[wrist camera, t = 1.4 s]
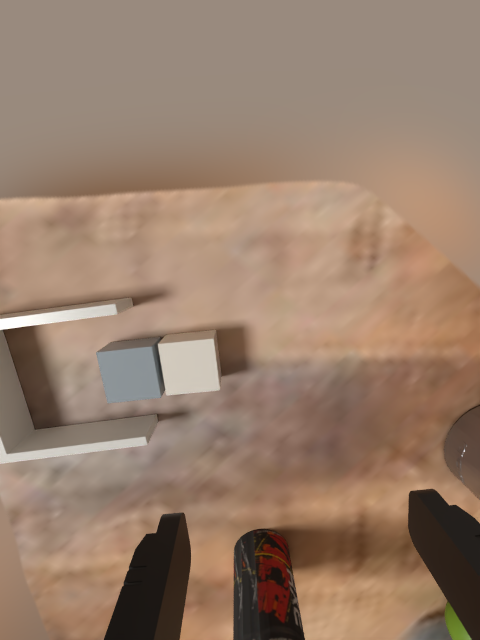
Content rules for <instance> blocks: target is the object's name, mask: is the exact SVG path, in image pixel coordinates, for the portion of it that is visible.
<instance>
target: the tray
mask: <svg viewBox="0 0 480 640" xmlns="http://www.w3.org/2000/svg"><path fill="white" fill-rule="evenodd" d="M131 307H133V302H132V298H131V297H130V298H123V299H115V300H108V301H100V302H93V303H85V304H78V305H70V306H63V307H55V308H48V309H40V310H33V311H25V312H18V313H10V314H3V315H0V464H2V463H10V462H18V461H25V460H33V459H41V458H49V457H57V456H65V455H73V454H81V453H88V452H96V451H104V450H112V449H120V448H128V447H136V446H144V445H148V443H149V440H150V438H151V436H152V434H153V432H154V430H155V428H156V425H157V423H158V418H157V414H154V415H146V416H138V417H130V418H123V419H115V420H107V421H99V422H91V423H84V424H76V425H68V426H60V427H52V428H45V429H37V430H35V428H34V425H33V422H32V419H31V416H30V413H29V410H28V407H27V403H26V400H25V397H24V394H23V391H22V388H21V385H20V382H19V379H18V376H17V372H16V369H15V366H14V363H13V360H12V357H11V354H10V351H9V348H8V345H7V341H6V338H5V335H4V332H3V329H10V328H18V327H25V326H33V325H40V324H48V323H55V322H63V321H70V320H78V319H85V318H93V317H100V316H108V315H116V314H119V313H121V312H123V311H125V310H127V309H129V308H131Z"/></svg>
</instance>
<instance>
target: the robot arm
mask: <svg viewBox="0 0 480 640" xmlns="http://www.w3.org/2000/svg"><path fill="white" fill-rule="evenodd" d="M444 455H445V460H446V463H447V466H448V467H449V469H450V470H451V472H452V473H453V474H454V475H455V476H456V477H457V478H458V479H459V480H460V481H461V482H462V483H463V484H464V485H465V486H466V487H467V488H468V489H469V490H470V491H471V492H472V493H473V494H474V495H475V496H476V497H477V498H478V499H479V500H480V406H478V407H476V408H474V409H472V410H470V411H469V412H467V413H466V414H465V415H463V416H462V417H461V418H460V419H459V420H458V421H457V422H456V423H455V424H454V425H453V427H452V428H451V430H450V432H449V433H448V436H447V438H446V441H445V447H444ZM408 528H409V533H410V536H411V539H412V542H413V544H414V546H415V548H416V550H417V551H418V553H419V555H420V556H421V558H422V559H423V561H424V563H425V564H426V566H427V568H428V569H429V571H430V572H431V574H432V576H433V577H434V579H435V581H436V582H437V584H438V586H439V587H440V589H441V590H442V592H443V594H444V595H445V597H446V599H447V600H448V602H449V604H450V605H451V607H452V608H453V610H454V612H455V613H456V615H457V617H458V618H459V620H460V621H461V623H462V625H463V626H464V628H465V630H466V631H467V633H468V635H469V636H470V638H471V639H472V640H480V524H479V522H478V521H477V520H476V519H475V518H474V517H472V516H471V515H470V514H468V513H467V512H465V511H464V510H462V509H461V508H460V507H458V506H457V505H450V506H449V505H448V504H447V503H446V501H445V500H444V499H443V498H442V497H441V495H440V494H439V493H438V492H437V491H436V490H434V489H426V490H416V491H410V493H409V513H408ZM190 565H191V547H190V541H189V535H188V530H187V524H186V518H185V514H184V513H173V514H163V515H162V516H161V519H160V522H159V525H158V529H157V532H156V533H152V534H146V535H145V537H144V538H143V540H142V541H141V542H140V544H139V545H138V546H137V548H136V549H135V552H134V555H133V557H132V560H131V563H130V566H129V571H128V572H127V575H126V578H125V580H124V586H122V589H121V592H120V595H119V598H118V601H117V603H116V606H115V609H114V612H113V615H112V618H111V621H110V624H109V626H108V629H107V632H106V635H105V638H104V640H179V639H180V633H181V626H182V619H183V613H184V606H185V599H186V593H187V586H188V580H189V573H190Z"/></svg>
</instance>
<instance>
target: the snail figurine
mask: <svg viewBox="0 0 480 640" xmlns="http://www.w3.org/2000/svg"><path fill="white" fill-rule="evenodd" d="M445 620H446V625H447V628H448V631H449V633H450V635H451V637H452V639H453V640H472V639H471V638H470V636H469V635H468V633H467V631H466V630H465V628H464V626H463V625H462V623H461V621H460V620H459V618H458V617H457V615H456V613H455V612H454V610H453V608H452V607H451V605H450V604H449V602H447V604H446V607H445Z"/></svg>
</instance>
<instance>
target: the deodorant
mask: <svg viewBox="0 0 480 640" xmlns="http://www.w3.org/2000/svg"><path fill="white" fill-rule="evenodd" d="M233 640H305V638H304V632H303V626H302V621H301V615H300V610H299V604H298V599H297V593H296V588H295V582H294V577H293V571H292V566H291V560H290V555H289V549H288V544H287V542H286V540H285V539H284V538H283V537H282V536H281V535H280V534H278V533H276V532H274V531H271V530H266V529H259V530H253V531H251V532H248V533H246V534H245V535H243V536H242V537H241V538H240V539H239V540H238V541H237V543H236V545H235V548H234V639H233Z"/></svg>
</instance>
